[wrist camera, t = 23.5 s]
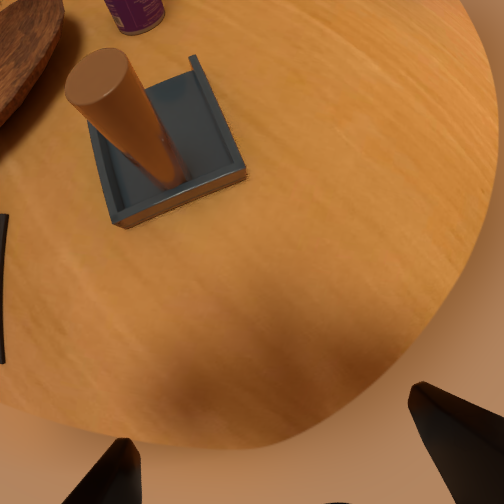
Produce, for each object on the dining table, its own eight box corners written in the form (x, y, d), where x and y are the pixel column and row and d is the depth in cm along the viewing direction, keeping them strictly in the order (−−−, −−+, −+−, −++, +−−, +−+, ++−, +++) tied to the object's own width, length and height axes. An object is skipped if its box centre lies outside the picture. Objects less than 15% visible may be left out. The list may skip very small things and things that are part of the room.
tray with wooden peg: (246, 179, 21) (242, 55, 8) (126, 229, 21) (-4, 178, 8) (199, 71, 22) (169, -61, 9) (96, 117, 21) (7, 19, 8)
